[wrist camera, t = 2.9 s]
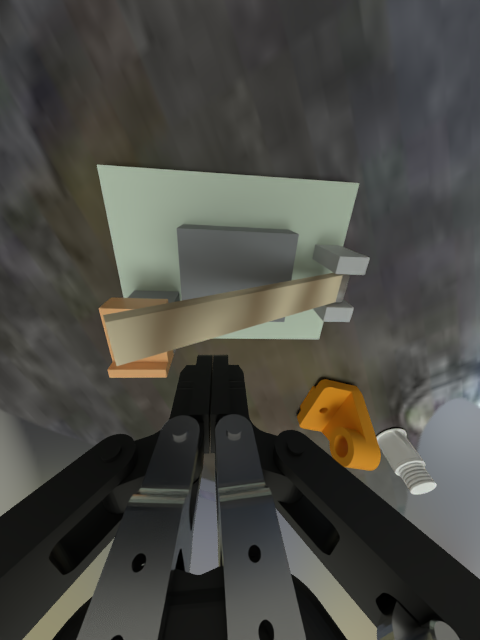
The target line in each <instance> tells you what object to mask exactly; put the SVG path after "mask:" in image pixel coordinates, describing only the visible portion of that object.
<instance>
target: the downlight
mask: <svg viewBox="0 0 480 640" xmlns="http://www.w3.org/2000/svg"><path fill="white" fill-rule="evenodd" d="M406 436H407V433H406V431H405V430H403V429H400V428H394V429H389V430H386V431H384V432H382V433H380V434H379V435H378V436H377V437H376V438H377V441H378V445H379V447H380V449H381V450H382V452H383V454H384V455H385V457H386V459H387V460H388V462H389V464H390V465H391V467H392V469H393V470H394V472H395V474H396V475H398V476H401V477H402V479H403V481H404V482H405V484H406V486H407V487H408V489H409V490H410V492H411V493H412V494H424V493H427V492H429V491H431V490H433V489H434V488H435V487H436V486H437V485H436V483H435V482H434V480H433V479H432V478H431V476H430V475H429V473H428V472H427V471H426V469H425V468H424V467H425V465H426V464H425V462H424V461H423V459H422V458H421V457H420V455H419V454H418V453H417V451H416V450H415V449H414V447H413V446H412V444H411V443H410V442H409V440H408V439H407V438H406Z"/></svg>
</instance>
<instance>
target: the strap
mask: <svg viewBox="0 0 480 640" xmlns="http://www.w3.org/2000/svg"><path fill="white" fill-rule="evenodd" d="M349 277H350V275H349V274H335V273H329V274H324V275H318V276H313V277H307V278H302V279H297V280H291V281H286V282H280V283H275V284H269V285H264V286H258V287H253V288H248V289H242V290H237V291H231V292H226V293H220V294H215V295H210V296H204V297H199V298H193V299H188V300H182V301H177V302H171V303H166V304H161V305H155V306H150V307H144V308H139V309H133V310H128V311H122V312H117V313H112V314H106V315H103V316H104V320H105V324H106V328H107V332H108V336H109V340H110V344H111V348H112V351H113V355H114V359H115V362H116V366H120V365H123V364H126V363H130V362H133V361H137V360H140V359H144V358H147V357H150V356H154V355H157V354H161V353H164V352H167V351H171V350H174V349H178V348H181V347H184V346H188V345H191V344H195V343H198V342H201V341H205V340H208V339H212V338H215V337H218V336H222V335H225V334H229V333H232V332H235V331H239V330H242V329H246V328H249V327H252V326H256V325H259V324H263V323H266V322H269V321H273V320H276V319H280V318H283V317H286V316H290V315H293V314H297V313H300V312H303V311H307V310H310V309H314V308H317V307H320V306H324V305H327V304H331V303H334V302H342V301H343V298H344V295H345V291H346V288H347V284H348V281H349Z"/></svg>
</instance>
